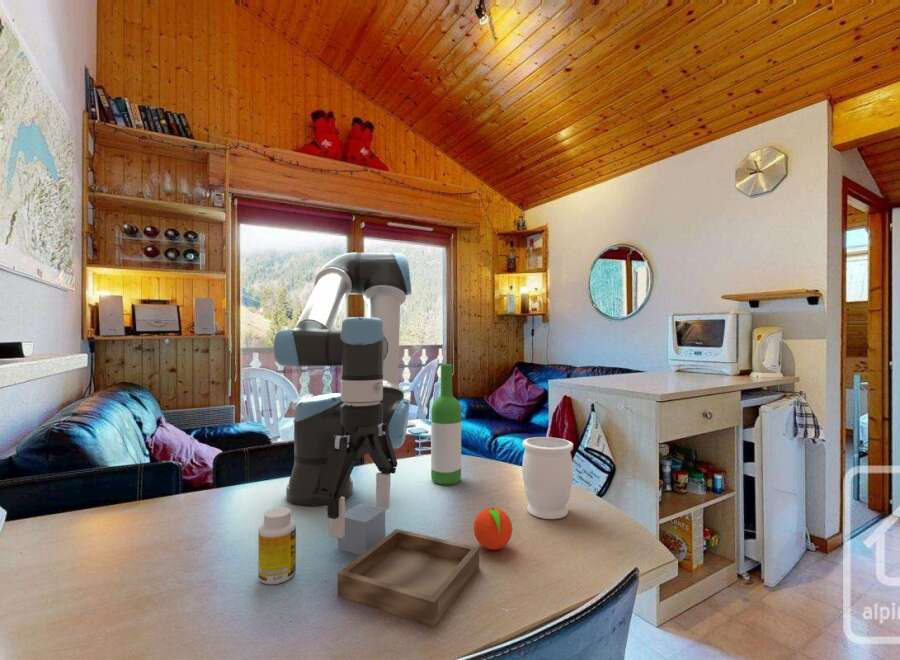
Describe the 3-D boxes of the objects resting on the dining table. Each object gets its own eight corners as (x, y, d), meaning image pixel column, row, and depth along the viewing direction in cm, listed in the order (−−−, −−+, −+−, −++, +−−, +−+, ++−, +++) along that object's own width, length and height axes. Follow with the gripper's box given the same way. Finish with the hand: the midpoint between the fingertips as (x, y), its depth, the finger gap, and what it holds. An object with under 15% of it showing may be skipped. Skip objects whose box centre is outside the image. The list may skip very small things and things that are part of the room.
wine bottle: (467, 480, 114) (467, 364, 114) (447, 488, 109) (447, 366, 108) (444, 473, 120) (445, 362, 119) (424, 481, 114) (425, 364, 114)
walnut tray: (337, 595, 65) (337, 573, 65) (396, 547, 79) (396, 528, 79) (434, 627, 58) (434, 602, 58) (479, 568, 73) (479, 547, 73)
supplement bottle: (296, 582, 68) (296, 516, 68) (257, 589, 67) (257, 521, 66) (295, 564, 74) (295, 502, 74) (259, 570, 72) (259, 507, 72)
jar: (568, 503, 99) (568, 436, 99) (577, 523, 89) (577, 449, 89) (520, 501, 100) (520, 435, 100) (523, 521, 90) (524, 447, 90)
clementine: (519, 558, 76) (519, 517, 75) (479, 562, 74) (479, 520, 74) (505, 537, 83) (506, 499, 83) (469, 539, 82) (469, 501, 82)
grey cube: (338, 549, 79) (338, 515, 79) (358, 535, 84) (358, 503, 84) (365, 557, 76) (365, 522, 76) (385, 541, 82) (385, 509, 82)
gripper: (332, 414, 67) (331, 555, 67) (414, 395, 90) (414, 501, 89) (295, 411, 70) (294, 545, 70) (383, 393, 93) (383, 495, 93)
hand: (361, 521), depth 80 cm, fingers open, 13 cm apart
